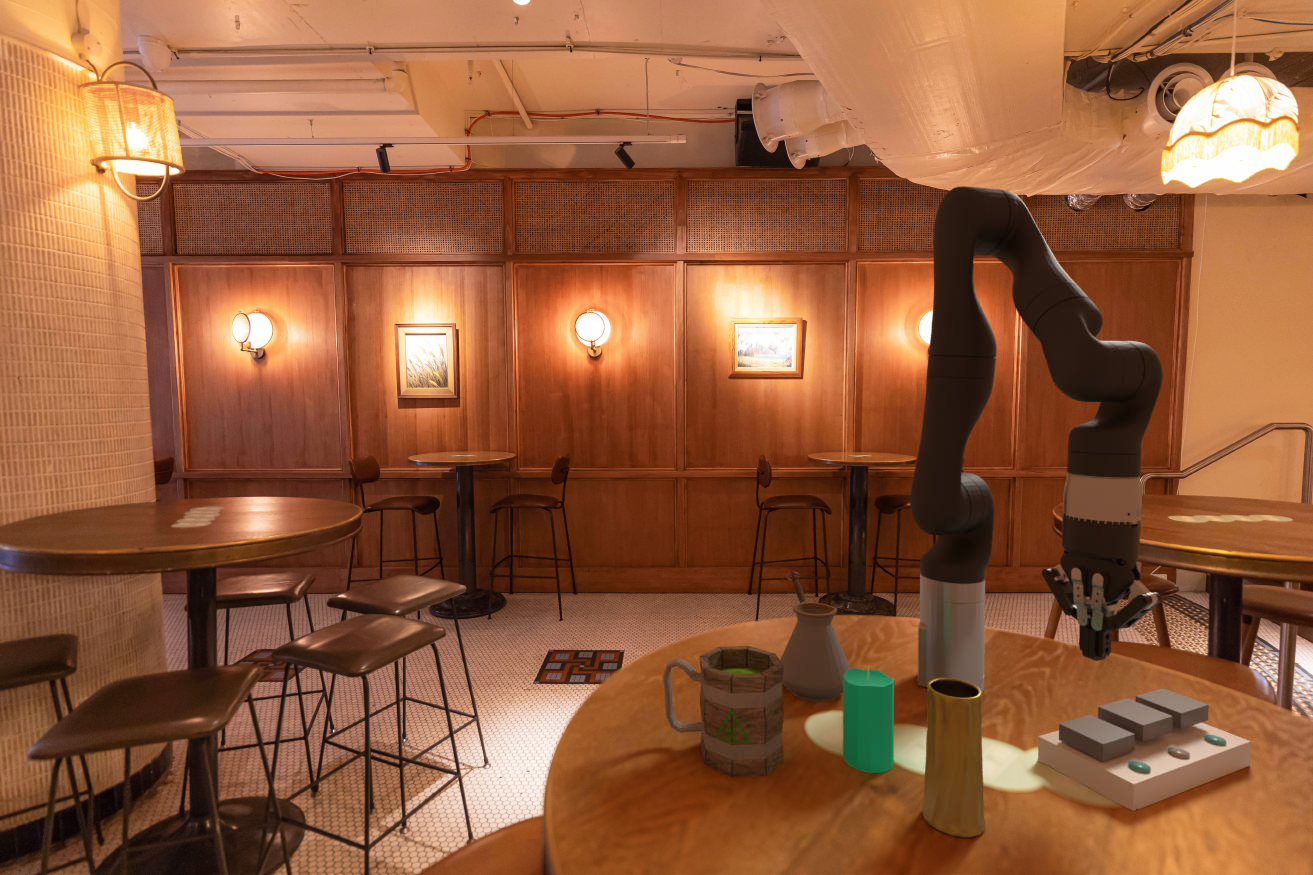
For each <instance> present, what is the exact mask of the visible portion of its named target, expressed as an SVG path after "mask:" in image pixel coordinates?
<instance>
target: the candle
mask: <svg viewBox="0 0 1313 875" xmlns="http://www.w3.org/2000/svg"><path fill="white" fill-rule="evenodd" d="M894 698H895V678H893V677H890V676H889V675H887V674H885V673H883V671H881V670H880V669H870V665H869V664H868V665H867V669H865V668H858V667H857V668H856V667H852V668H851V669H850V670H847V671H845V673H844V676H843V693H842V758H843V759H844V761H845V763H846V764H847V765H848V766H849V767H852V768H854V769H855V770H857V771H860V772H865V773H869V774H881V773H882V774H883V773H886V772H888V771H890V770H892V769H893V766H894V753H895V752H894V746H895V745H894V736H895V735H894V734H895V732H894V729H895V728H894V726H895V720H894V719H895V716H894V714H895V711H894V708H895V704H894V703H895V699H894Z"/></svg>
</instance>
